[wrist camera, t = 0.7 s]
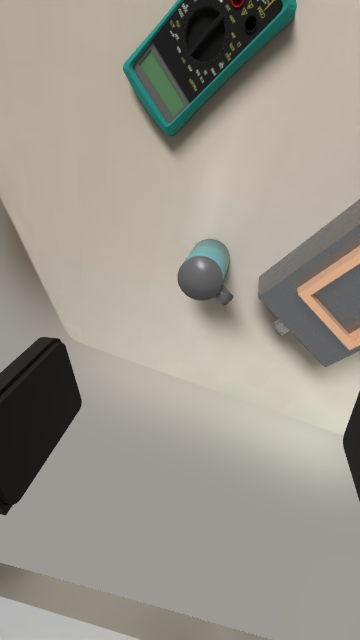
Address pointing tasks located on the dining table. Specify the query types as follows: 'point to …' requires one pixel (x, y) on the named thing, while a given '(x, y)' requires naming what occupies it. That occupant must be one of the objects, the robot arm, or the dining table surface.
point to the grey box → (320, 290)
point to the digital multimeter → (199, 53)
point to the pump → (206, 272)
